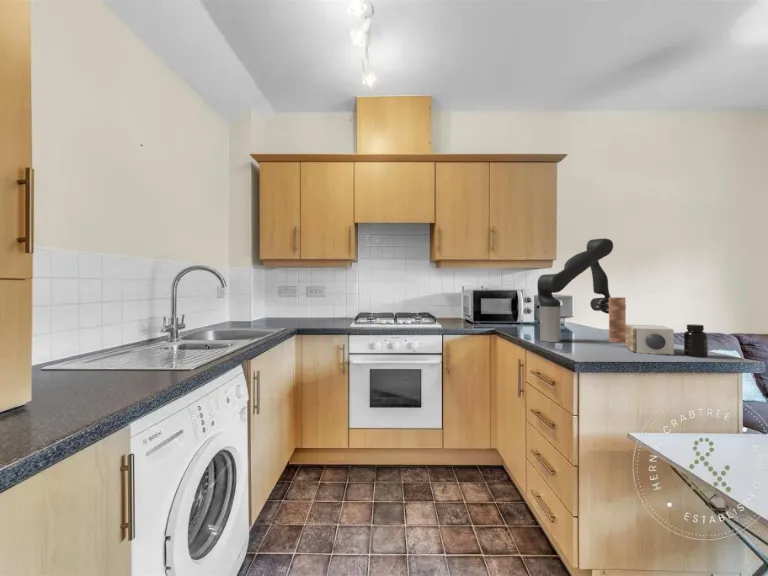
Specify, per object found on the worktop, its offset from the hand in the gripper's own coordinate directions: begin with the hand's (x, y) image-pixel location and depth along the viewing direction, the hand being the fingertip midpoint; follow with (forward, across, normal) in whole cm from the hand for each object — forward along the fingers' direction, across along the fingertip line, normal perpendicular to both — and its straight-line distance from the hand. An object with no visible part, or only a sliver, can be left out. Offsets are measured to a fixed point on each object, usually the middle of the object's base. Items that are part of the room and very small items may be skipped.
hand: (614, 307), depth 158 cm
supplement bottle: (+19, +23, +17) cm, 34 cm away
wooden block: (+13, 0, +17) cm, 21 cm away
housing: (+13, +10, +17) cm, 23 cm away
